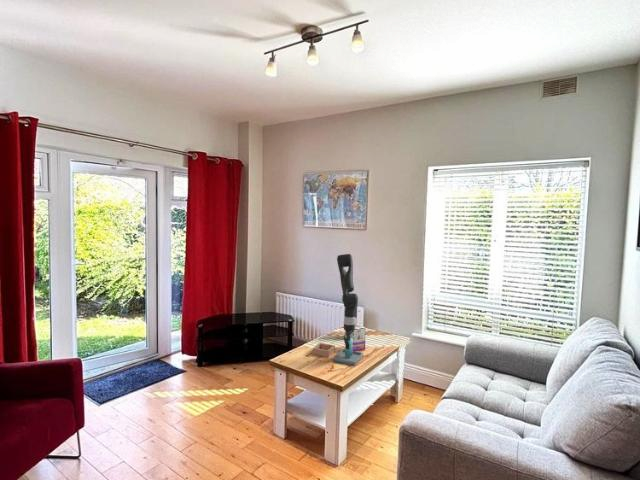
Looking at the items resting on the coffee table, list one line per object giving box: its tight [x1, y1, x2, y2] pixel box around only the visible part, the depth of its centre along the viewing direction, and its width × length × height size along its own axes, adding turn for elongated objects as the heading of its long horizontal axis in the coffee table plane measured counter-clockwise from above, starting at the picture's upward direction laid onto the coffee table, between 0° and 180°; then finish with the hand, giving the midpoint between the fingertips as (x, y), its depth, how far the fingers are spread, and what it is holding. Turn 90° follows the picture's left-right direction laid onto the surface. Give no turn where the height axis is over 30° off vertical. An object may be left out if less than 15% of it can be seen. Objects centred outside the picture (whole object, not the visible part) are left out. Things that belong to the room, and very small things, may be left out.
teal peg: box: [344, 337, 353, 357], centre depth 231 cm, size 5×5×12 cm
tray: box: [332, 348, 364, 367], centre depth 231 cm, size 18×15×2 cm
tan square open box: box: [312, 342, 336, 358], centre depth 241 cm, size 12×12×4 cm
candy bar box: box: [352, 325, 366, 352], centre depth 248 cm, size 11×5×16 cm, turn 112°
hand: (348, 347), depth 231 cm, fingers closed on teal peg, 5 cm apart
